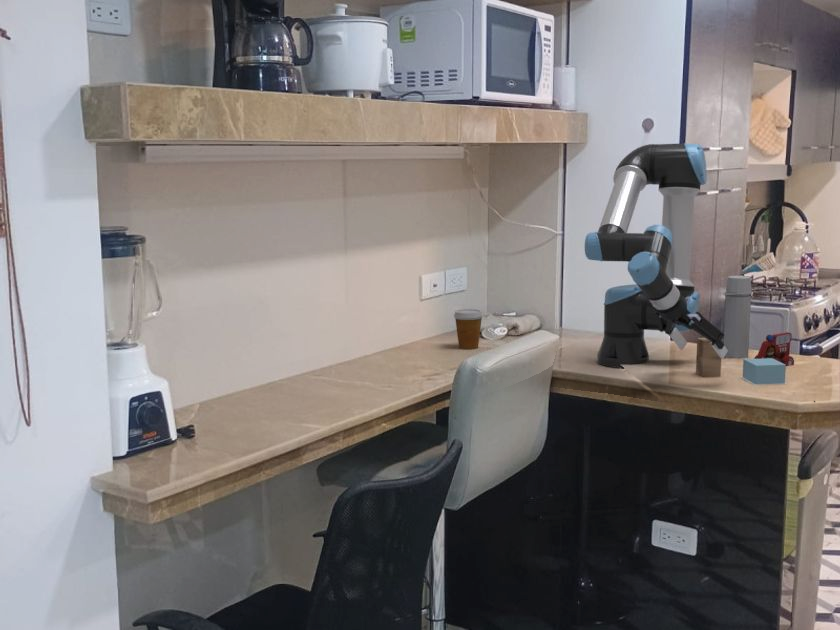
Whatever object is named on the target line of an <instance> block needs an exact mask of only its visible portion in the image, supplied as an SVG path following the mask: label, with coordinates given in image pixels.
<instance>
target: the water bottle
mask: <svg viewBox="0 0 840 630" xmlns="http://www.w3.org/2000/svg"><path fill="white" fill-rule="evenodd" d="M722 295H724V303H723V304H724V305H723V312H722V319H721V326H720V331H721V332H722V333H723V334H724V337H723V338H722V342H723V343H724V346H725V347H726V348H727V350H728V352H727V353H726V355H725V356H724V358H723V359H749V351H750V350H749V349H750V348H749V347H750V328H751V325H750V324H751V307H752V306H751V304H752V303H751V302H752V296H751V295H752V278H751V276H745V275H729V276H727V279H726V287H725V292H723V293H722ZM723 330H724V331H723Z"/></svg>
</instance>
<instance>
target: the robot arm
mask: <svg viewBox="0 0 840 630" xmlns="http://www.w3.org/2000/svg"><path fill="white" fill-rule="evenodd" d="M707 171H708V170H707V161H706V155H705V150H704V148H703V146H702V145H700V144H699V143H687V142H684V143H659V144H658V143H657V144H655V143H650V144H644V145H641V146H639V147H637V148H635V149H633V150H632V151H631V152H630V153H628V154H627V155H626V156H625V157H624V158H623V159H622V160H620V162H619V164H618V165H617V166H616V169H615V171H614V174H613V177H612V180H613V187H612V190H611V193H610V195H609V199H608V201H607V204H606V208H605V211H604V214H603V217H602V218H601V222H600V225H599V227H598V231H593V232H589V233H587V234H586V236H585V239H584V254H585V257H586V259H587V260H589V261H597V262H598V261H599V262H628V263H627V272H628V274H629V275H630V277H631V278H632V280H633V282H634V284H626V285H625V284H624V285H617V286H612V287H611V288H608V289H607V290H606V291H605V295H604V303H603V305H604V307H603V308H604V309H603V319H604V320H603V338H602V340H601V344H600V346H599V350H598V352H597V363H598V364H599V365H601V366H605V367H611V368H620V369H624V368H625V367H624V365H625V366H626V365H627V366H628V365H642V364H646V363H648V362H650V354H649V351H648V347H647V344H646V341H645V330H646V331H647V330H648V331H659V332H660V333H663V332H665V334H666V335H669V337H670V338H671V340H672V341H673V342H674V344H675V345H676V347H678V349H679V350H680V351H683V350H684V348H685V347H686V346H687V344H688V342H687V340H686V339H685V338H684V336H683V335H682V333H686V332H690V331H691V330H692V331H694V332H696V333H697V334H699V335H700V336H701V337H702V338H706V339H708V340H709V341H711V342H710V344H711V345H712V347H713V348H714V350H715V351H716V352H717V354H718V355H719V357H720V358H721V360H722V359H725V358H724V356H725V355H726V353H727V352H728V350H727V348H726V347H725V346H724V342H723V341H722V338H723V339H724V332H723V331H722V332H721V329H718V328H717V327H716V326H715V325H714V324H712V323H711V322H710V321H709V320H708V319H706V318H705V317H704V316H703V315H702V313H701V312H700V311H699V307H700V297H701V296H700V293H699V292H698V291H695V284H693V282H692V281H691V280H690V277H691V276H690V275H691V257H692V244H693V243H692V241H693V240H692V239H693V223H694V222H693V221H694V206H695V198H696V196H697V195H698V194H699V193H700V192H701V185H702V186H703V185H706V184H707V179H708V177H707V176H708V174H707ZM647 185H657V186H658V191H659V193H660V194H661V195H662V196H663V199H662V200H663V201H662V214H661V215H662V216H661V217H662V218H661V224H652V225H650V226H648V227H647V228H646V229H645V230H644V231H643V233H639V232H635V233H634V232H628V230H629V228H630V225H631V221H632V218H633V215H634V211H635V210H636V206H637V202H638V200H639V196H640V193H641V192H642V191H643V190H644V189H645V187H646V186H647ZM622 365H623V366H622Z"/></svg>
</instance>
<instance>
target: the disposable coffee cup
mask: <svg viewBox="0 0 840 630" xmlns="http://www.w3.org/2000/svg"><path fill="white" fill-rule="evenodd" d="M453 316H454V317H453V318H454V319H455V325H456V327H455V328H456V333H457V341H458V343H457V344H458V348H459V347H460V348H459V349H461V348H463V349H462V350H474V349H475V350H476V349H478V348H479V343H480V335H481V328H482V327H481V325H482V319H483V317H484V314H483V311H482V310H480V309H474V308H470V309H469V308H466V309H465V308H462V309H457V310H455V312H454V314H453Z"/></svg>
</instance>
